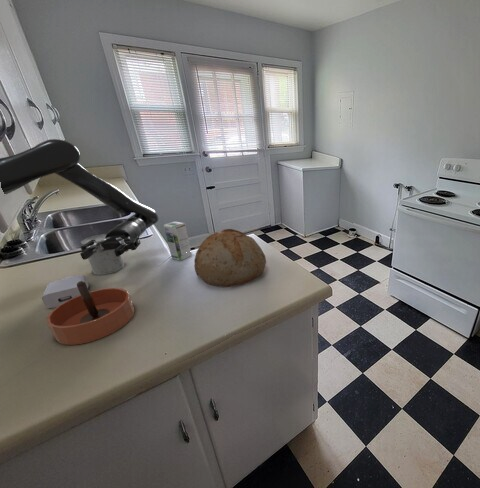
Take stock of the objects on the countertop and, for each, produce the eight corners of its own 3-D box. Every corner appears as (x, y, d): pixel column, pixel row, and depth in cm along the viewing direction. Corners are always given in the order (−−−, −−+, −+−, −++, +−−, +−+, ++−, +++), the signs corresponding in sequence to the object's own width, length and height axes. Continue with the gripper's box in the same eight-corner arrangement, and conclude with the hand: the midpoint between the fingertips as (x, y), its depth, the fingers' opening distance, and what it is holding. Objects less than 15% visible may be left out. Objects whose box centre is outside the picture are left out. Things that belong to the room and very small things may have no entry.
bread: (189, 266, 104) (181, 230, 98) (247, 250, 116) (243, 217, 110) (208, 298, 84) (199, 255, 78) (275, 275, 97) (272, 237, 91)
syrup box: (170, 258, 110) (162, 225, 104) (183, 252, 115) (175, 220, 109) (180, 261, 108) (172, 227, 102) (192, 255, 113) (185, 222, 107)
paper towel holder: (78, 330, 70) (59, 291, 65) (85, 316, 76) (68, 279, 71) (108, 322, 73) (92, 284, 68) (112, 309, 78) (98, 273, 73)
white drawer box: (91, 278, 96) (86, 298, 85) (56, 286, 91) (47, 309, 80) (86, 266, 94) (81, 286, 83) (51, 274, 89) (40, 296, 78)
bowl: (44, 354, 64) (34, 336, 62) (67, 313, 78) (59, 297, 76) (130, 330, 71) (124, 314, 69) (137, 297, 85) (132, 282, 83)
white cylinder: (124, 260, 109) (114, 232, 104) (124, 270, 101) (113, 240, 97) (94, 267, 104) (82, 237, 99) (92, 277, 97) (79, 246, 92)
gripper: (97, 226, 90) (66, 245, 75) (144, 222, 93) (123, 241, 78) (105, 246, 93) (76, 269, 79) (150, 242, 96) (131, 263, 81)
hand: (100, 255), depth 78 cm, fingers open, 8 cm apart
